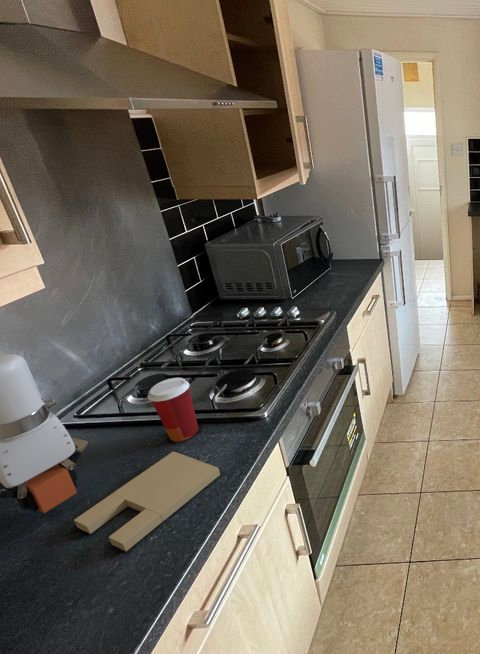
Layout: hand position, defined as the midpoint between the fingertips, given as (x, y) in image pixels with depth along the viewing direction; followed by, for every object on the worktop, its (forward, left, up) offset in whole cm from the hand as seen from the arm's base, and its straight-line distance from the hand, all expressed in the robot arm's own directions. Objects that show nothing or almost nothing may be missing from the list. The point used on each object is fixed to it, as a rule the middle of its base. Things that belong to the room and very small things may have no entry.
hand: (51, 495), depth 81 cm
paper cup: (+23, -2, -4) cm, 23 cm away
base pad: (+8, -15, -4) cm, 18 cm away
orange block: (0, 0, -1) cm, 1 cm away
